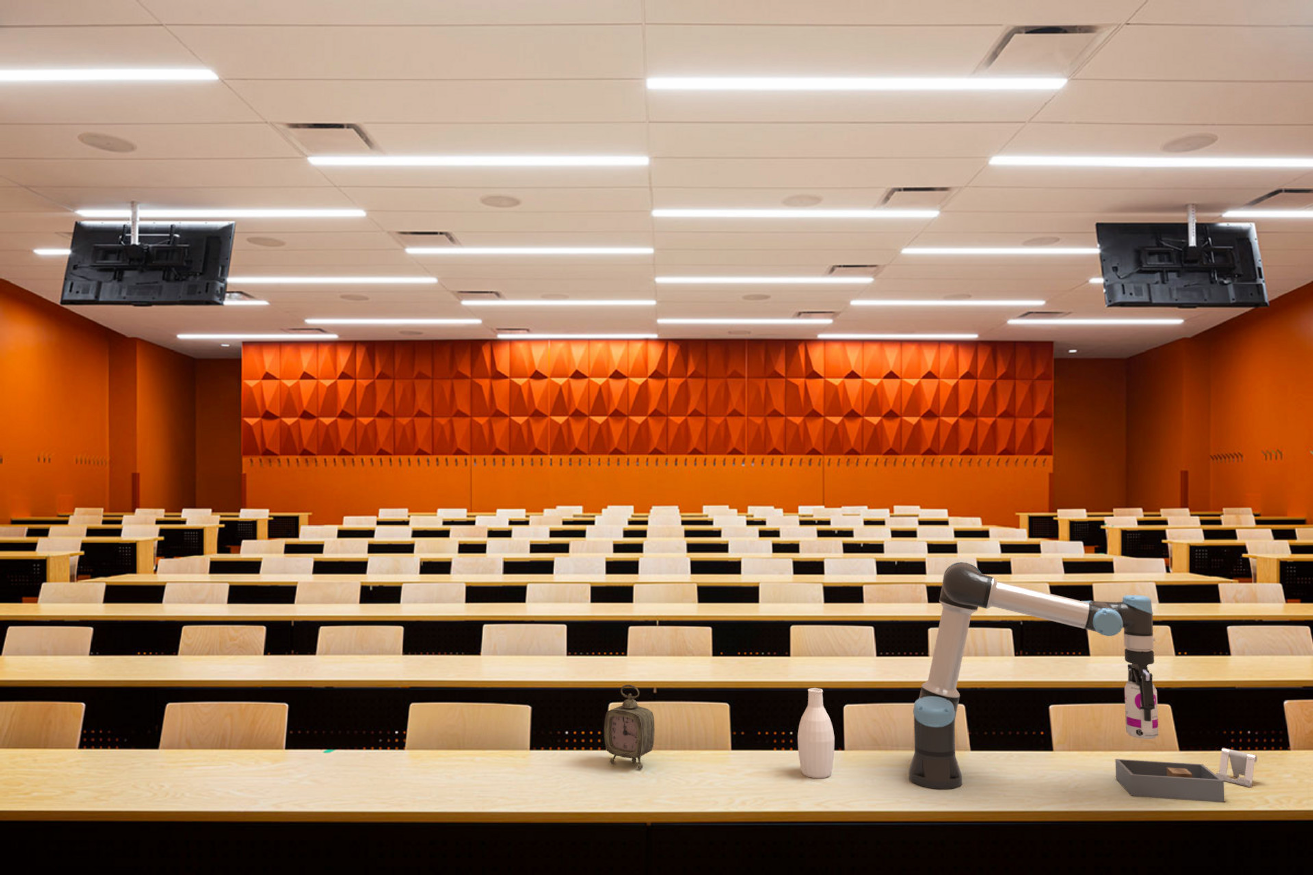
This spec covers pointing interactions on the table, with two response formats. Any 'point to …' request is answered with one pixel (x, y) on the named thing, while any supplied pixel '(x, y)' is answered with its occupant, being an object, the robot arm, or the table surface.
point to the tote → (1169, 780)
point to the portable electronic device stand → (1237, 766)
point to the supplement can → (1138, 712)
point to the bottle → (816, 738)
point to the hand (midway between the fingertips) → (1141, 727)
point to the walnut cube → (1178, 772)
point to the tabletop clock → (629, 730)
